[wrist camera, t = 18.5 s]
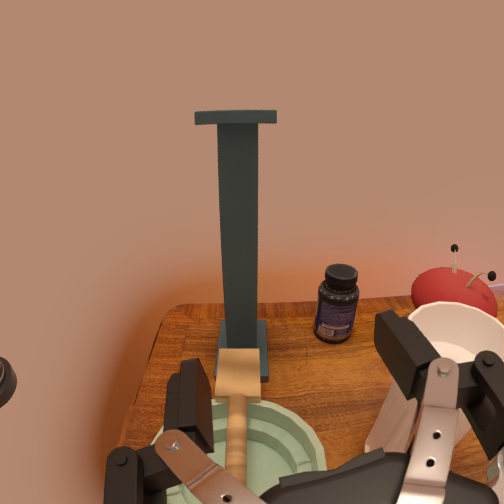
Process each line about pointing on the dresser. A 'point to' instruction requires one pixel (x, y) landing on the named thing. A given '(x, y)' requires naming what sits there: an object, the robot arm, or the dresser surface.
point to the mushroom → (454, 288)
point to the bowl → (263, 447)
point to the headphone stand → (239, 227)
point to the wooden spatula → (237, 402)
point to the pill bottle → (336, 303)
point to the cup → (447, 345)
